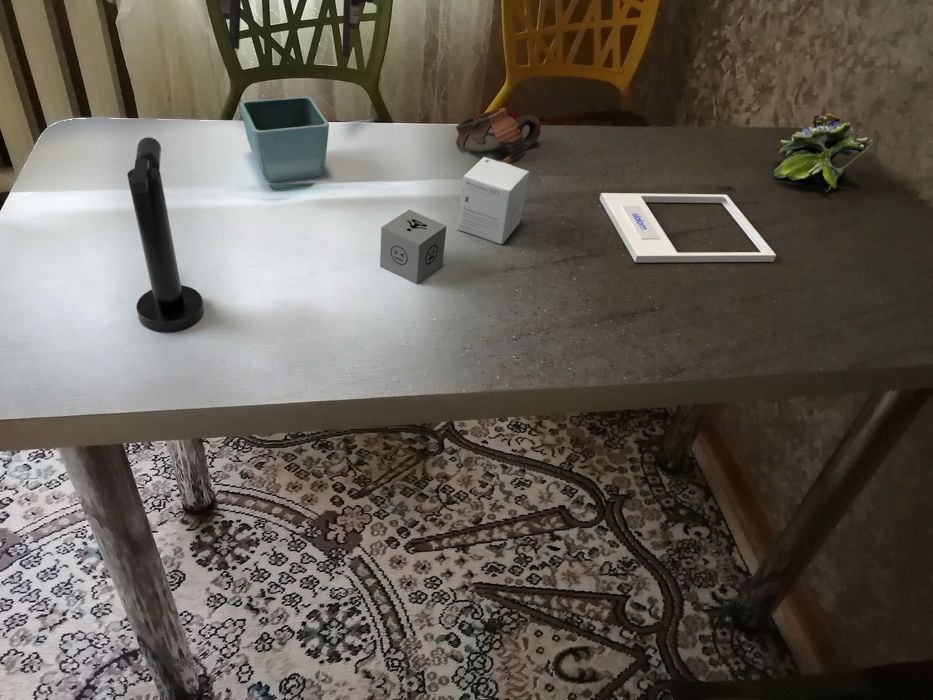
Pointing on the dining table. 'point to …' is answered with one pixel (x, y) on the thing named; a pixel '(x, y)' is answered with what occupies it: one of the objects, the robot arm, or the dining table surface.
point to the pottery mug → (501, 132)
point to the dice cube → (412, 246)
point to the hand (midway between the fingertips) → (290, 48)
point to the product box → (492, 200)
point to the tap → (159, 249)
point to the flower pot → (286, 139)
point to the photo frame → (652, 241)
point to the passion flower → (820, 149)
